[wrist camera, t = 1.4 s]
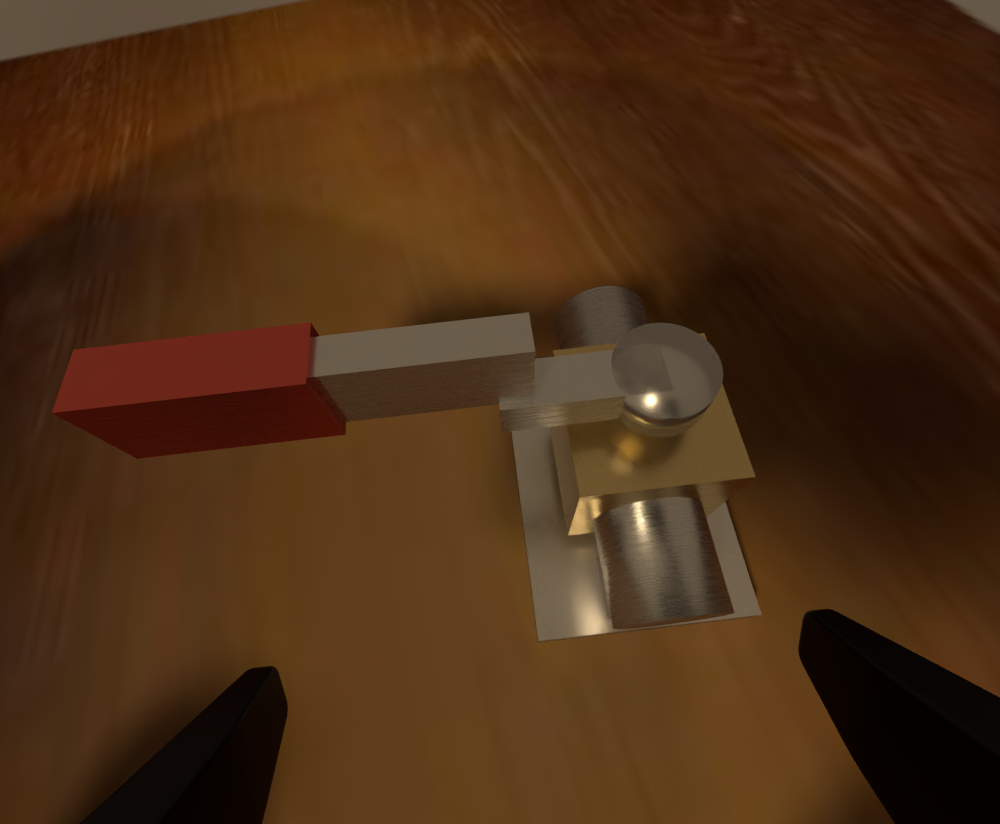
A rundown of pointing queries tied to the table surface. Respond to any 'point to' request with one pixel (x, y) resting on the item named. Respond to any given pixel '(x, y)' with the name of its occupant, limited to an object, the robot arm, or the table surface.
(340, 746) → the table surface
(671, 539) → the stand
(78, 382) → the valve lever
